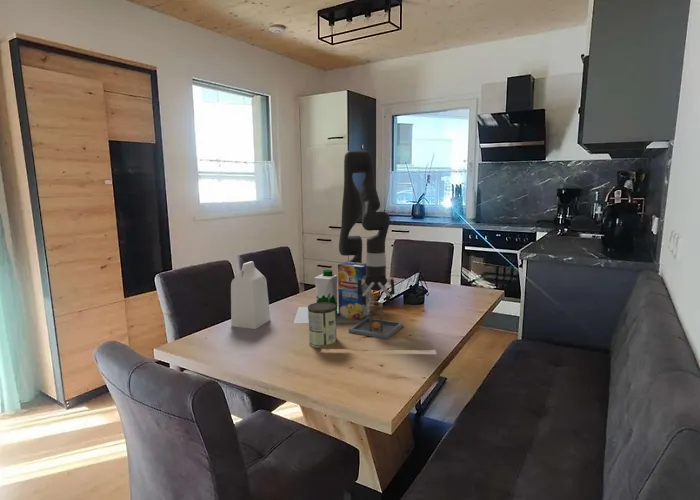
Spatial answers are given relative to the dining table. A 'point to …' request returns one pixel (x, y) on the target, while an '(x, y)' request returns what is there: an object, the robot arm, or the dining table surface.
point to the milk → (249, 298)
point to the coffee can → (322, 323)
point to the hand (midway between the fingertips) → (376, 304)
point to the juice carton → (352, 291)
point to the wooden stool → (376, 313)
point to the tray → (364, 329)
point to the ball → (376, 325)
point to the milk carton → (326, 288)
